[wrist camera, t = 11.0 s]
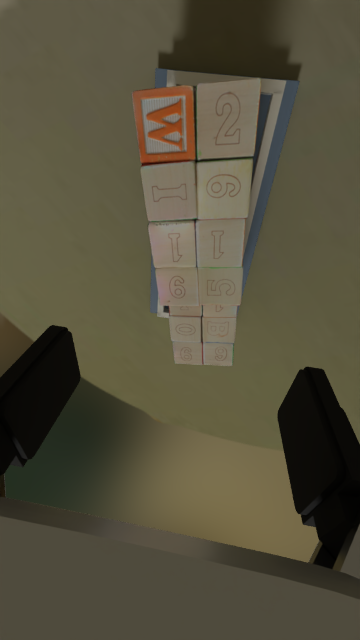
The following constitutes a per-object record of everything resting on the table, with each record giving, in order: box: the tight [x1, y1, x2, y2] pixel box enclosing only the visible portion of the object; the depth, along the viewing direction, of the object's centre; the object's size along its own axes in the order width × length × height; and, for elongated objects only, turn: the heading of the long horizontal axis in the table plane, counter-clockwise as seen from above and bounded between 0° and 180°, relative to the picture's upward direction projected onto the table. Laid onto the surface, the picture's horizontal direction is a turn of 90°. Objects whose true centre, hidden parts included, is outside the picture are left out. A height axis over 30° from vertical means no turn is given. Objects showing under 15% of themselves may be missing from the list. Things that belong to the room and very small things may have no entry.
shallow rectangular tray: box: [150, 68, 299, 318], centre depth 28 cm, size 12×25×2 cm, turn 175°
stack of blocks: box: [132, 78, 261, 366], centre depth 23 cm, size 21×6×12 cm, turn 4°
